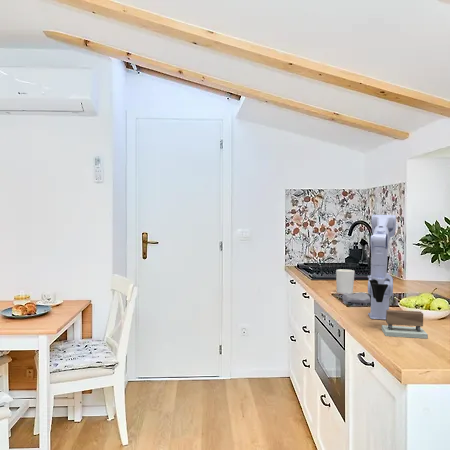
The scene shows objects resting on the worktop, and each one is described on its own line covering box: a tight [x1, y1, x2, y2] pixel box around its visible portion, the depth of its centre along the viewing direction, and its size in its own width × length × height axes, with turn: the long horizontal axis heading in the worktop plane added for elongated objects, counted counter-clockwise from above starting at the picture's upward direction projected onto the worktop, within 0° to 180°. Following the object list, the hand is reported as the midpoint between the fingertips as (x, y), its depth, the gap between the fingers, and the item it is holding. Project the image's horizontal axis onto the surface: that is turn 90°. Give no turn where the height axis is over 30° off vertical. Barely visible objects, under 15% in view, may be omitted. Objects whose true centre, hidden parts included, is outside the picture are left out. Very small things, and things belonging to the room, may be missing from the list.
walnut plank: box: [385, 309, 424, 327], centre depth 173 cm, size 4×12×4 cm, turn 80°
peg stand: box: [381, 324, 429, 339], centre depth 173 cm, size 10×14×4 cm
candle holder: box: [335, 268, 356, 295], centre depth 257 cm, size 10×10×12 cm
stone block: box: [342, 292, 371, 304], centre depth 233 cm, size 12×5×10 cm
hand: (377, 300), depth 184 cm, fingers open, 7 cm apart
